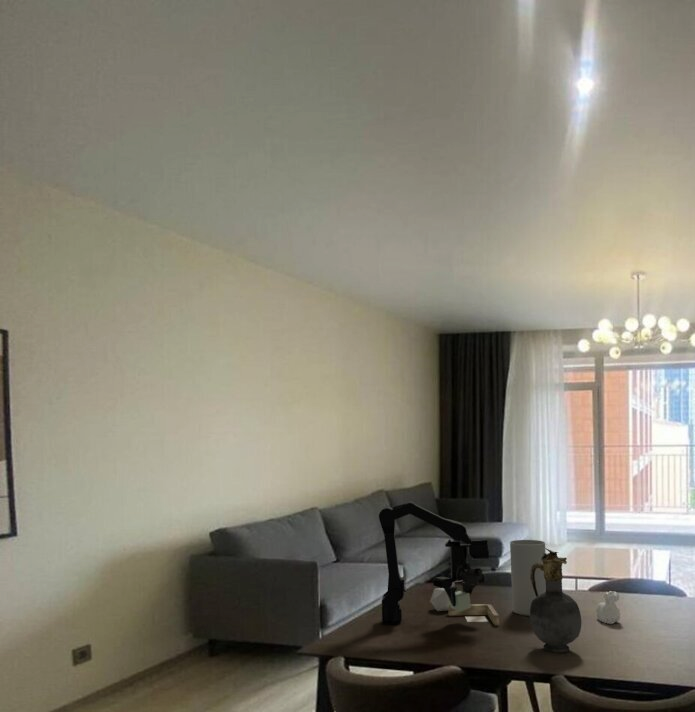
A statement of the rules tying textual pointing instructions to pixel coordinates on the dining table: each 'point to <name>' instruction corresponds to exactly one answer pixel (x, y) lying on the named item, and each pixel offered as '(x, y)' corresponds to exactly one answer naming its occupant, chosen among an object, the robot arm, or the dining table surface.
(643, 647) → the dining table surface
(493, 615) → the wooden corner guide
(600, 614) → the white figurine
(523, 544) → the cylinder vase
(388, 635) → the dining table surface
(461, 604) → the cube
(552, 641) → the pitcher
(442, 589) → the die
